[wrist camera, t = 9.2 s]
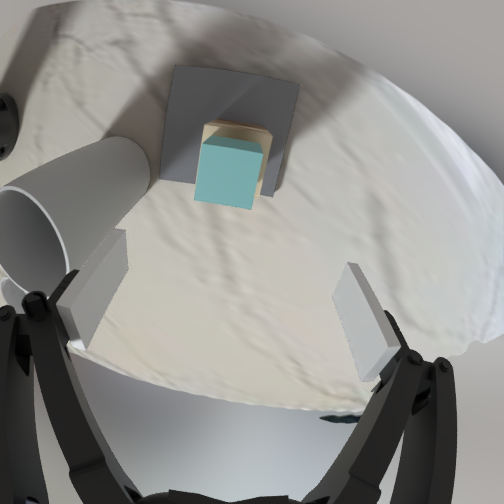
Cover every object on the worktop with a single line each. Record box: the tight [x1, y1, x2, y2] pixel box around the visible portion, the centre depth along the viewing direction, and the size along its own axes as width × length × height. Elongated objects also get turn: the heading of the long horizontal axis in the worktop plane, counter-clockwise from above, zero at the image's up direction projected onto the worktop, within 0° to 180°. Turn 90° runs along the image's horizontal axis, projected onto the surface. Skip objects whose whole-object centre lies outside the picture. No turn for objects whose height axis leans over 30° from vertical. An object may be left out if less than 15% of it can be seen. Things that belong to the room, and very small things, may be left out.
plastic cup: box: [0, 276, 28, 314], centre depth 44 cm, size 11×11×12 cm
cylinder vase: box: [0, 136, 150, 299], centre depth 29 cm, size 12×12×25 cm
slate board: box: [159, 65, 300, 197], centre depth 37 cm, size 18×18×2 cm
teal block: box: [194, 135, 263, 210], centre depth 24 cm, size 5×5×6 cm
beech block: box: [195, 121, 273, 199], centre depth 29 cm, size 7×7×6 cm
